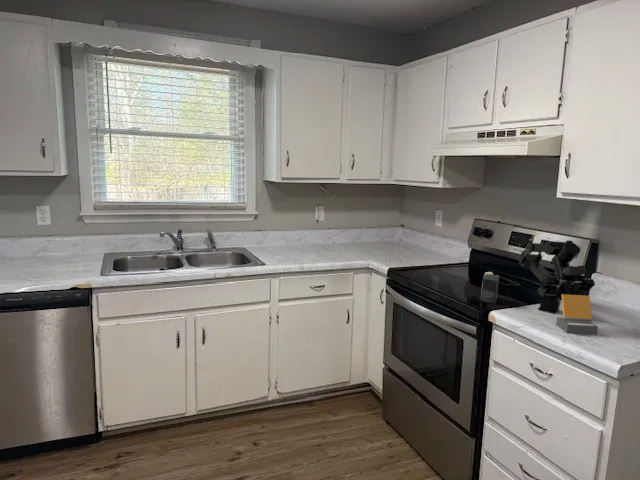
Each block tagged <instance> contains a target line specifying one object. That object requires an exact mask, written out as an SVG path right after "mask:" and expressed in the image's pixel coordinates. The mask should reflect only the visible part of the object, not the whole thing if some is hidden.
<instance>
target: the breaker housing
mask: <svg viewBox="0 0 640 480" xmlns="http://www.w3.org/2000/svg"><path fill="white" fill-rule="evenodd" d="M555 325H556V326H557V327H558V326H559V327H558V328H560V329H561V330H562V331H564V332H566V333H567V334H568V333H569V334H583V335H598V330H599V326H598V325H597V324H595V323H593V321H592V322H588V321H570V320H563V317H556V322H555Z"/></svg>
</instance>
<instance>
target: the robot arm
mask: <svg viewBox="0 0 640 480" xmlns="http://www.w3.org/2000/svg"><path fill="white" fill-rule="evenodd" d="M580 252H581V247H580V246H579V245H578V244H576V243H574V242H573V240H566V241H556V240H555V241H554V240H553V241H552V240H549V241H546V242H545V243H540V242H539V243H537V242H536V243H535V242H531V243H529V244H528V247H526V248H525V249H523V250H522V251H521V253H520V254H519V257H518V263H519V265H520V266H521V267H523V268H525V269H527V270H528V269H529V270H530V271H531V273H533V275H534V276H535V277H536V278H537V279H538V280H539V281H540V282H539V284H540V285H539V287H538V289H537V294H538V295H539V296H540V302H539V303H540V304H539V307H538V308H537V309H538V310H539V311H542V310H543V312H546V311H547V312H546V313H551V314H555V313H556V314H557V312H559V311H560V309H561V307H560V305H561V300H560V299H562V294H566V295H577V294H576V293H577V290H578V291H579V292H589V291H590V290H591V289H592V288H593V287H594V286H595V285H596V282H595V281H594V279H592V278H583V277H582V278H581V279H580V281H577V280H578V277H579V276H582V275H585V274H586V272H587V269H586V267H585V265H578V266H574V265H571V264H570V263H571V262H573V261H574V260H575V259H576V257H577V256H578V255H579V254H580ZM533 253H535V254H533ZM536 253H537V254H536ZM542 253H544V254H546V255H549V256H553V257H552V259H551V261H550V265H553V268H554V273H553V274H554V275H553V274H551V273H550V272H549V271H548V270H547V269H546V268H545V267H544V265H542V264H541V262H542V259H543V255H542Z"/></svg>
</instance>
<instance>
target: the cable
mask: <svg viewBox="0 0 640 480" xmlns="http://www.w3.org/2000/svg"><path fill="white" fill-rule="evenodd" d="M485 274H491V275H495V274H494V273H493V272H492V271H487V272H485V273H484V275H483V277H484V276H485ZM499 279H503V280H507V281H508V282H509V283H507V284H506V283H503V282H502V281H500V280H499V284H501V285H503V286H514V287H515V286H516V287H519V286H521V284H520V283H519V282H516V281H513V280H511V279H509V278H505V277H502V276H500V275H499Z"/></svg>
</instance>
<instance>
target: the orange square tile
mask: <svg viewBox="0 0 640 480" xmlns="http://www.w3.org/2000/svg"><path fill="white" fill-rule="evenodd" d="M590 297H591V296H590V295H582V294H575V295H566V294H562V298H561V305H562V306H561V307H562V318H563V320H570V321H588V322H592V323H593V317H592V309H591V299H590Z"/></svg>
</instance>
